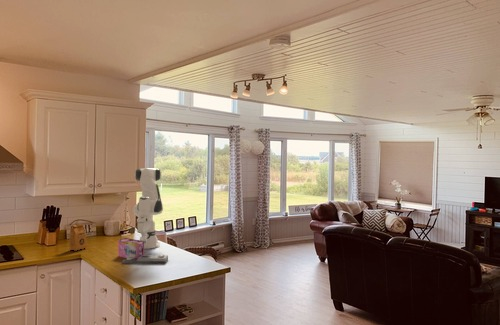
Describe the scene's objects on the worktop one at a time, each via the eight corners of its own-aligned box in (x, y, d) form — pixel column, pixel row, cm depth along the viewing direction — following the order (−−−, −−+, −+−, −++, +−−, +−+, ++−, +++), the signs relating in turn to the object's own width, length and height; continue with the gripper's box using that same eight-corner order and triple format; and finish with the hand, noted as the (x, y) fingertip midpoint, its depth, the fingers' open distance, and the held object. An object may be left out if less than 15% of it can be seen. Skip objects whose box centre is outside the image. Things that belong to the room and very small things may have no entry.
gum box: (145, 258, 287) (145, 241, 287) (137, 260, 280) (137, 243, 280) (126, 254, 300) (126, 237, 300) (118, 256, 293) (118, 239, 293)
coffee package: (88, 249, 319) (88, 223, 319) (75, 252, 308) (75, 225, 308) (80, 247, 324) (80, 222, 324) (67, 250, 313) (67, 224, 313)
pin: (142, 242, 278) (142, 228, 278) (147, 242, 278) (147, 228, 278) (141, 243, 274) (141, 229, 275) (146, 243, 274) (146, 229, 274)
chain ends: (126, 260, 281) (126, 253, 281) (168, 260, 281) (168, 253, 281) (122, 263, 272) (122, 256, 272) (165, 263, 272) (165, 256, 272)
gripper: (144, 216, 287) (144, 233, 287) (136, 220, 266) (136, 239, 266) (152, 216, 287) (152, 233, 287) (144, 220, 266) (144, 239, 266)
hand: (144, 236), depth 276 cm, fingers closed on pin, 3 cm apart
